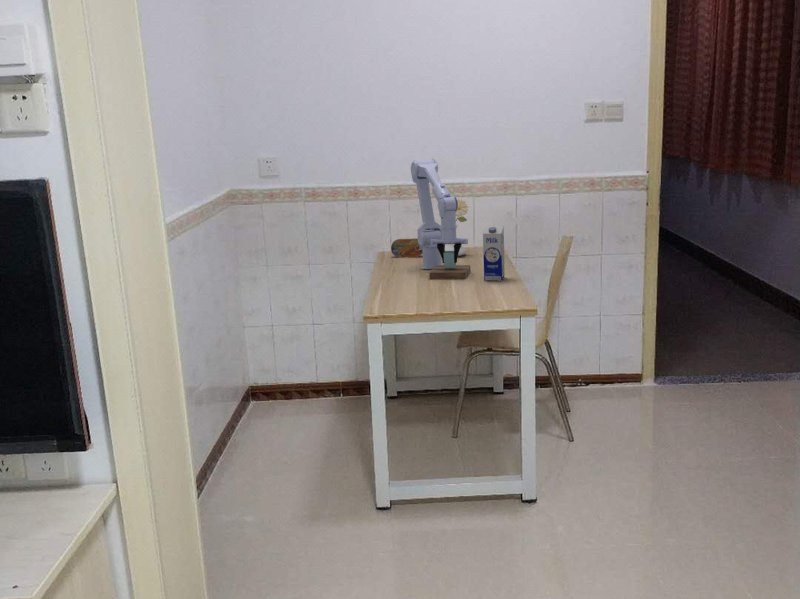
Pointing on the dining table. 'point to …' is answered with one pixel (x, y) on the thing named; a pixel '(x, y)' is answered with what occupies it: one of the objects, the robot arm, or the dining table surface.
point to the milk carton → (493, 252)
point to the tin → (406, 248)
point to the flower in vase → (460, 211)
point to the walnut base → (450, 272)
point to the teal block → (449, 259)
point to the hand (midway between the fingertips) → (449, 262)
